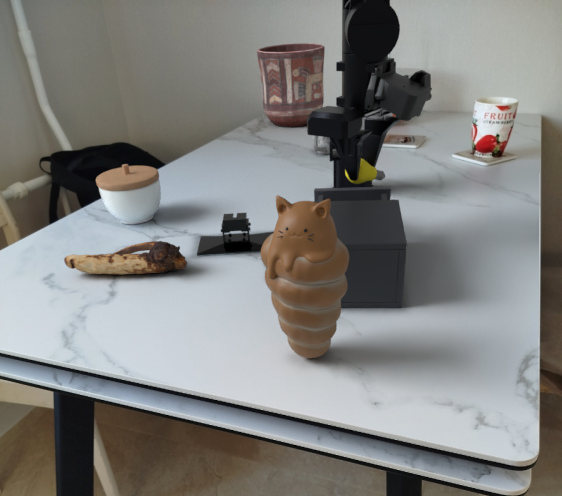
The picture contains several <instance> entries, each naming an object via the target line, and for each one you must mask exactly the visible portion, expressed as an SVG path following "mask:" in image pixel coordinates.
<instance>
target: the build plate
mask: <svg viewBox="0 0 562 496" xmlns="http://www.w3.org/2000/svg"><path fill="white" fill-rule="evenodd" d="M250 226H252V222H250V218H249V217H248V213H247V212H237V213H236V216H235V215H234V213H233V212H232V213H223V217H222V221H221V229H220V233H221V234H214V235H213V234H212V235H211V234H210V235H201V236H200V238H199V243H198V247H197V251H196V256H197V257H203V256H205V257H206V256H217V255H219V256H220V255H235V254H249V253H253V254H254V253H261V248H262V245H263V243H264V241H265V240H266V239H267V238H268V237H269V236H270V235H271V234H273V233H274V231H262V232H261V231H260V232H259V231H258V232H251V227H250ZM232 232H239V233H232Z"/></svg>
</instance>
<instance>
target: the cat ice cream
mask: <svg viewBox="0 0 562 496" xmlns="http://www.w3.org/2000/svg"><path fill="white" fill-rule="evenodd" d="M275 207H276V212H277V214H278V216H277V217H278V218H277V221H276V224H275V227H274V230H273V232H274V233H273V234H271V235H270V236H269V237H268V238H267V239H266V240H265V241H264V243H263V245H262V248H261V252H260V259H261V262H262V264H263V266H264V268H265V271H264V281H265V285H266V287H267V288H268V290H269V291H270V297H271V298H270V300H271V303H272V306H273V308H274V310H275V312H276V314H277V320H278V324H279V327H280V329H281V331H282V332H283V333H284V334H285V336H286V339H287V343H288V345H289V347H290V349H291V350H292V351H293V352H294V353H295V354H297V355H298V356H299V357H301V358H305V359H316V358H319V357H321V356H323V355H324V354H326V353H327V352H328V351H329V349H330V347H331V344H332V338H333V337H334V335H335V334H336V331H337V327H338V326H337V325H338V324H337V321H338V320H339V319H340V317H341V313H342V308H341V298H342V297H343V296H344V295H345V293H346V291H347V279H346V276H345V272H346V270H347V267H348V264H349V252H348V249H347V247H346V246H345V245H344V244H343V243H342V242H341V241H340V240H339V238H337V232H336V228H335V224H334V221H333V218H332V216H331V215H330V208H331V200H330V199H326V200H324V201H321V202H320V203H316V202H314V201H313V200H300V201H295V202H293V203H291V202H290V201H289V200H287V199H286V198H284V197H282V196H281V195H276V196H275Z"/></svg>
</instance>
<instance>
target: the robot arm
mask: <svg viewBox="0 0 562 496" xmlns="http://www.w3.org/2000/svg"><path fill="white" fill-rule="evenodd" d="M341 2H342V3H341V60H340V61H336V62H335V63H336V64H335V72H341V95H339V96H337V97H335V101H336V103H335V105H334V106H333V105H326V106H323V107H322V108H320V109H317V110H314V111H312V112H311V114H310V115H309V116H308V118H307V125H306V130H307V131H306V132H307V135H308V136H313V135H314V136H322V137H329V154H328V155H329V162H333V164H332V165H333V166H332V167H333V169H332V171H333V172H332V173H333V174H332V176H333V179H332V180H333V181H332V183H333V187H332V188H354V187H375V185H374V184H373V181H366V182H363V183H360V184H354V183H352V182H350V181H349V180H348V178H347V177H346V174H345V170H346V172H347V174H348V176H349V178H350V180H353V181H356V180H358V176H359V170H360V162H361V158H362V159H364V160H365V161H366V162H368V163H369V164H370V165H371V166H373V167H375V168H376V166H377V163H378V160H379V157H380V154H381V152H382V149H383V145H384V142H385V139H386V137H387V134H388V133H389V131H390V130H391V129H392V128H393V127H394V126H395V125H397V123H399V122H400V121H404V122H408V121H409V122H410V121H411V120H412V119H413V118H415V117H420V116H421V114H422V111H423V109H424V106H425V104H426V102H429V101H430V100H431V99H432V97H433V95H432V90H433V87H432V76H431V73H429V72H427V71H425V70H424V69H420V70H418V71H415V72H414V73H412V75H411V76H410V77H409V75H408V74H405V75H402V74H400V73H397V70H396V69H397V62H396V61H395V57H389V54H391V53H392V51H393V50H394V49H395V47H396V45H397V43H398V41H399V39H400V33H401V24H400V20H399V16H398V15H397V12H396V10H395V9H394V8H393V7H392V6H391V0H341ZM333 149H336V151H333Z"/></svg>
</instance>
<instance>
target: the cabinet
mask: <svg viewBox="0 0 562 496" xmlns="http://www.w3.org/2000/svg"><path fill="white" fill-rule="evenodd" d="M313 202H316V203H320V202H321V201H313ZM330 215H331V216H332V218H333V221H334V224H335V228H336V232H337V238H339V240H340V241H341V242H342V243H343V244H344V245H345V246H346V247H347V249H348V252H349V264H348V267H347V270H346V272H345V276H346V279H347V291H346V293H345V295H344V296H343V297H342V298H341V309H343V308H344V309H348V308H350V309H351V308H357V309H359V308H361V309H366V308H367V309H369V308H370V309H372V308H376V309H377V308H383V309H385V308H387V309H388V308H389V309H392V308H393V309H395V308H396V309H401V308H402V307H403V296H404V295H403V293H404V283H405V282H404V281H405V280H404V279H405V271H406V260H407V259H406V257H407V248H408V247H407V245H408V242H407V238H406V237H407V236H406V232H405V228H404V227H405V226H404V221H403V217H402V216H403V215H402V211H401V206H400V199H390V200H360V201H331V208H330Z"/></svg>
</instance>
